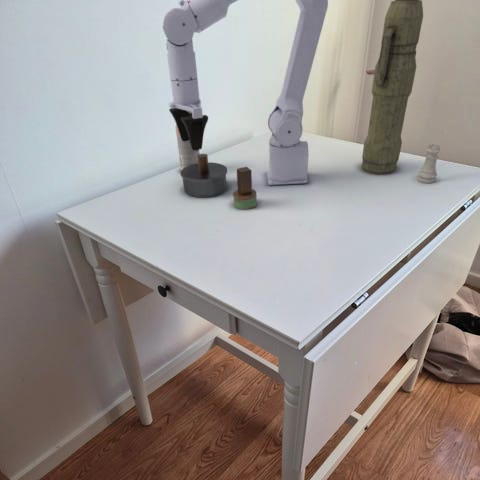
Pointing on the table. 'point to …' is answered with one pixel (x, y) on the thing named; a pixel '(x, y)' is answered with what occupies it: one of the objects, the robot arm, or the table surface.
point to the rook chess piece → (429, 165)
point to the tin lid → (203, 170)
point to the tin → (205, 187)
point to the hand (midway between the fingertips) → (191, 144)
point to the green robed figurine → (392, 86)
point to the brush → (244, 190)
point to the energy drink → (186, 152)
